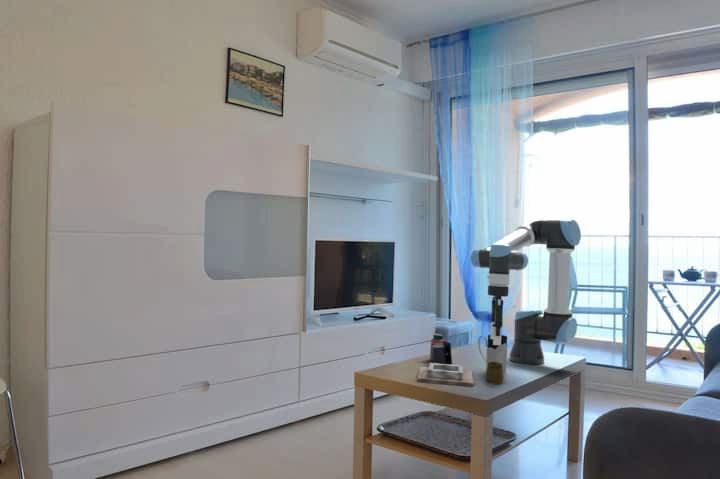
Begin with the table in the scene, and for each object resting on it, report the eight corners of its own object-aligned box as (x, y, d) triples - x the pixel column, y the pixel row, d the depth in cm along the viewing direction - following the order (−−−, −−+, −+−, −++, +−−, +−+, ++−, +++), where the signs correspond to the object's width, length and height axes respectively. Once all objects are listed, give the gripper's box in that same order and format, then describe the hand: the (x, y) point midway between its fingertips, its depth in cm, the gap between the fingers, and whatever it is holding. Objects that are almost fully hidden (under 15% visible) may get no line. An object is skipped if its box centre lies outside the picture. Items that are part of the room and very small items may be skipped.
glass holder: (497, 376, 210) (499, 338, 210) (469, 368, 221) (471, 332, 222) (511, 374, 215) (513, 337, 215) (484, 367, 226) (486, 331, 227)
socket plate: (471, 373, 213) (471, 364, 213) (473, 386, 193) (473, 376, 193) (420, 369, 216) (420, 360, 216) (417, 381, 196) (417, 371, 196)
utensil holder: (504, 384, 198) (505, 351, 198) (487, 383, 198) (488, 350, 199) (500, 380, 204) (501, 348, 204) (483, 379, 204) (485, 347, 204)
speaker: (449, 363, 228) (448, 339, 228) (452, 367, 222) (451, 342, 222) (431, 364, 228) (430, 340, 228) (434, 368, 222) (433, 343, 222)
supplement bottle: (427, 360, 235) (428, 334, 235) (433, 358, 240) (434, 332, 240) (440, 362, 231) (441, 336, 232) (445, 360, 236) (447, 334, 237)
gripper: (486, 282, 215) (483, 336, 214) (490, 286, 190) (487, 346, 190) (505, 284, 213) (502, 337, 213) (512, 287, 189) (509, 348, 188)
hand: (495, 342), depth 201 cm, fingers open, 13 cm apart
